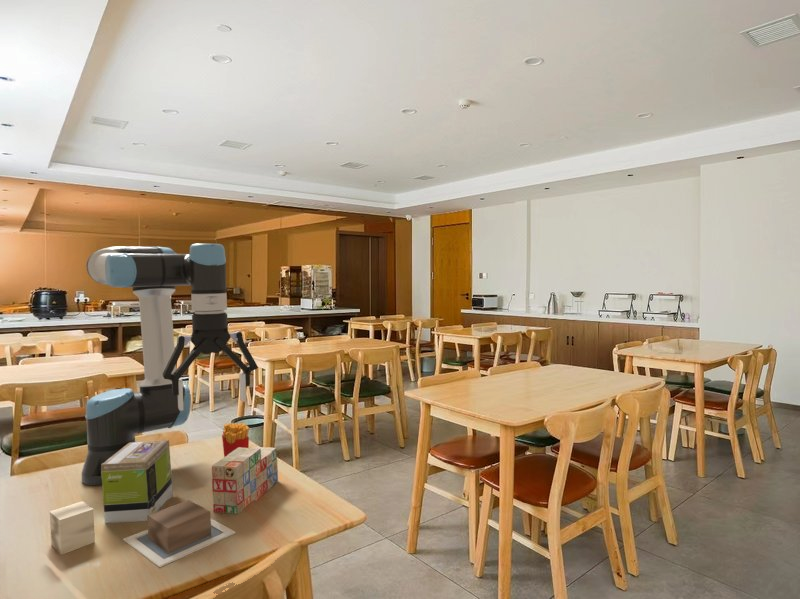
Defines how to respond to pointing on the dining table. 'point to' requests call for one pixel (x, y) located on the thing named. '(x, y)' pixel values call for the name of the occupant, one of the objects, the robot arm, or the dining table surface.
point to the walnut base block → (179, 525)
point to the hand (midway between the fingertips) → (212, 404)
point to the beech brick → (72, 527)
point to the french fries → (235, 437)
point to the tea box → (136, 481)
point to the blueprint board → (164, 558)
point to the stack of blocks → (243, 478)
